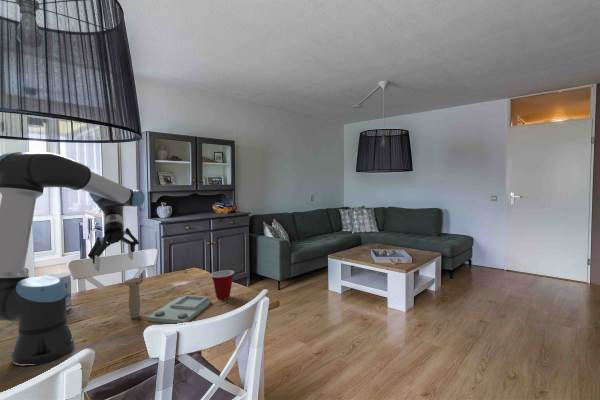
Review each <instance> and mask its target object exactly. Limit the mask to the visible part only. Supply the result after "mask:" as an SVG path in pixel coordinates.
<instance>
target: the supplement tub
mask: <svg viewBox="0 0 600 400" xmlns="http://www.w3.org/2000/svg"><path fill="white" fill-rule="evenodd" d="M46 276H52V277H57V278H60V279H62V280H63V281H64V284H65V290H66V312H67V311H69V310H70V309H71V308H72V279H71V278H72V277H71V273H69V272H59V273H51V274H47V275H46Z"/></svg>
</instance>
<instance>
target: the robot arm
mask: <svg viewBox="0 0 600 400" xmlns="http://www.w3.org/2000/svg"><path fill="white" fill-rule="evenodd" d="M45 188H66V189H69V190H74V191H79V190H81V191H84V192H87V193H88V194H89V196H90V198H91V199H92V201H93V202H94V203H95V204H96V206H97V207H98V208H99V209H100V210H101V211H102V212H103V214H104V224H103V225H104V227H103V231H104V233H103V234H104V235H103V237H99V236H98V237H96V240H95V242H94V244H93V246H92V247H91V250H89V252H88V254H87V257H88V258H89V259H91V260H92V264H93V265H94V269H95V271H97V272H100V268H101V258H100V256H101V255H102V254H103V253H104V251H105V250H107V248H108V247H110V246H111V245H113V244H115V243H116V244H117V243H119V242H123V243H124V244H126V245H127V249H128V250H127V253H128V256H127V257H128V259H130V260H131V261H132V260H134V252H135V251H136V246H137V245H140V242H139V241H138V239H137V238H136V237H135V236H134V234H132V231H131V230H130V229H129V227H127V228H125V229H124V217H123V216H124V213H123V210H124V207H141V206H143V205H144V203H145V193H144V192H143V190H140V189H130V188H129V187H126V186H124V185H122V184H119V183H118V182H115V181H113V180H111V179H109V178H106V177H105V176H102V175H100V174H98V173H96V172H94V171H92V170H91V169H90V167H89V166H87V165H85V164H83V163H81V162H79V161H77V160H74V159H72V158H70V157H67V156H64V155H60V154H57V153H55V152H54V153H53V152H21V151H16V152H15V151H14V152H7V153H4V154H1V155H0V194H1V198H0V321H3V322H4V321H8V322H18V336H17V338H16V342H15V345H14V349H13V351H12V353H11V361H13V362H15V363H18V364H38V365H42V364H45V362H46V363H48V362H52V361H54V360H55V361H56V360H57V359H60V358H62V357H63V356H65V355H67V354H68V353H70V352H71V351H72V349H73V348H74V347H75V342H74V341H75V339H74V336H73V335H72V332H71V330H70V328H69V326H68V323H67V311H66V290H65V284H64V281H63V280H62V279H60V278H57V277H52V276H47V275H42V276H31V277H30V275H29V273H27V271H25V268H26V262H27V256H28V255H27V254H28V250H29V244H30V238H31V233H32V225H33V219H34V214H35V208H36V207H35V206H36V203H37V200H38V198H40V197H41V196H42V195H43V194H44V189H45ZM125 235H127V236H128V237H129V238H130V239H131V240H130V239H127V238H126V237H124V236H125ZM41 363H42V364H41Z"/></svg>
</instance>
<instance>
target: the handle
mask: <svg viewBox="0 0 600 400" xmlns="http://www.w3.org/2000/svg"><path fill="white" fill-rule="evenodd" d="M142 283H144V279H143V278H142V277H134V278H129V279H127V280H124V285H125V286H127V287H128V288H129V290H128V291H129V293H128V294H129V295H128V311H129V317H130V318H131V319H137V318H139V316H140V314H141V313H140V311H141V310H140V309H141V299H140V285H141V284H142Z"/></svg>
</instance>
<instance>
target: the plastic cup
mask: <svg viewBox="0 0 600 400" xmlns="http://www.w3.org/2000/svg"><path fill="white" fill-rule="evenodd" d="M234 274H235V271H234V270H229V269H225V270H224V269H223V270H218V271H214V272H213V273H212V272H211V274H210V277H211V279H212V283H213V287H214V292H215V296H216V299H217V298H218V299H217V300H219V299H225V298H228V297H229V298H230V296H231V290H232V284H233V277H234ZM229 298H228V299H229ZM225 300H226V299H225Z"/></svg>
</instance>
